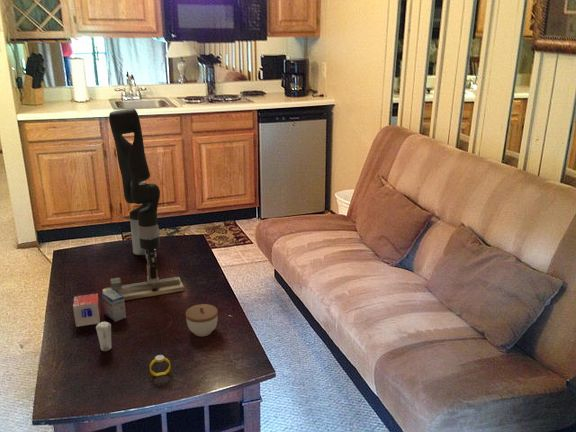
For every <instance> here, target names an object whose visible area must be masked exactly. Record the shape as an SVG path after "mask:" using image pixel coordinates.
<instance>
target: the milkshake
mask: <svg viewBox="0 0 576 432" xmlns="http://www.w3.org/2000/svg"><path fill="white" fill-rule="evenodd" d="M95 330H96V334H97V337H98V342H99V347H100V350H101V351H103V352H108V351H110V350H111V349H112V324H111V323H110V322H107V321H100V323H98V324H96V326H95Z"/></svg>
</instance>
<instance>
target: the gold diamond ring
mask: <svg viewBox="0 0 576 432" xmlns="http://www.w3.org/2000/svg"><path fill="white" fill-rule="evenodd" d="M162 362H166V363H168V368H167V369H166V370H165V371H161V372H160V371H159V372H155V371H153V370H152V367H153V365H154V364H155V363H162ZM171 367H172V366H171V361H170V360H169V359H168V358H167V357H165V355H163V354H157V355H156V356H155V357H154V359H152V360H151V361H150V364H149V372H150V374H151V375H152V376H153V377H160V376H166V375H167V374H169V372H170V371H171Z"/></svg>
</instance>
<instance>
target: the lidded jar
mask: <svg viewBox="0 0 576 432" xmlns="http://www.w3.org/2000/svg"><path fill="white" fill-rule="evenodd" d="M218 315H219V311H218V308H217V307H216V306H215V305H212V304H207V303H200V304H195V305H192V306H191V307H188V308H187V310H186V311H185V318H186V325H187V327H188V329H189V330H190V332H191V333H193V334H194V335H195V336H197V337H206V336H209V335H211V334H212V332H213V331H215V329H216V327H217V324H218V320H219V318H218Z"/></svg>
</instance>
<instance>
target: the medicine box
mask: <svg viewBox="0 0 576 432" xmlns="http://www.w3.org/2000/svg"><path fill="white" fill-rule="evenodd" d="M101 296H102V297H101V299H102V307H103V308H102V309H103V314H104V315H105V316H106V317H108V318H109V319H110V320H112V321H113V322H115V323H116V322H118V321H121V320H124V319H126V318H127V315H126V305H125V301H124V297H123V296H122V295H120V294H118V293H117V292H115V291H114V290H110V291H107V292H104V293H103V292H102V293H101Z"/></svg>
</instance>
